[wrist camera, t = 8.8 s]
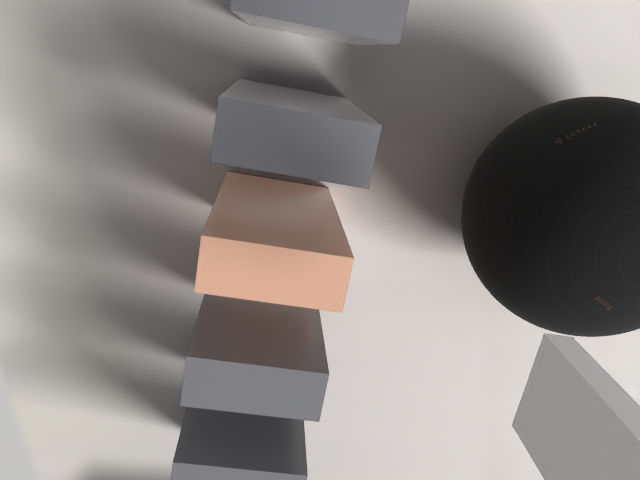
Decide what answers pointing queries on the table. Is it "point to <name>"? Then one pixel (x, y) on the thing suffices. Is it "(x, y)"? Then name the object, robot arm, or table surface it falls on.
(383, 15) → the domino
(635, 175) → the black ball
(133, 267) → the table surface
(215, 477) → the domino
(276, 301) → the domino
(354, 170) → the domino
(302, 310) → the domino
